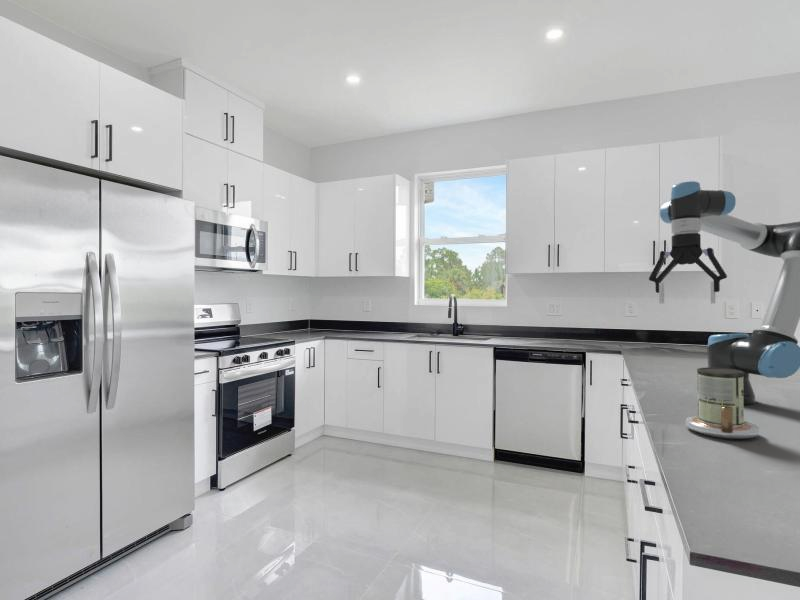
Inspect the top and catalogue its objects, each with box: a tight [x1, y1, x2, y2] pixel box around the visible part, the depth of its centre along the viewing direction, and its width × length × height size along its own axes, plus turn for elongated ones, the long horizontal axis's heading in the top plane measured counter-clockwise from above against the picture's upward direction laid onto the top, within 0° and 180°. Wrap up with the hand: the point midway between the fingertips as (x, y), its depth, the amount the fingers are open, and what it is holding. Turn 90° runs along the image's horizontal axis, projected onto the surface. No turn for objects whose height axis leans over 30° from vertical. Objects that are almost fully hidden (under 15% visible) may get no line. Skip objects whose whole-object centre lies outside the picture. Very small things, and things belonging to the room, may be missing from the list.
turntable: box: [685, 406, 760, 439], centre depth 123 cm, size 17×16×8 cm
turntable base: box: [698, 432, 748, 441], centre depth 123 cm, size 12×12×1 cm
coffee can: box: [696, 366, 745, 428], centre depth 123 cm, size 10×10×14 cm
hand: (686, 303), depth 141 cm, fingers open, 13 cm apart
